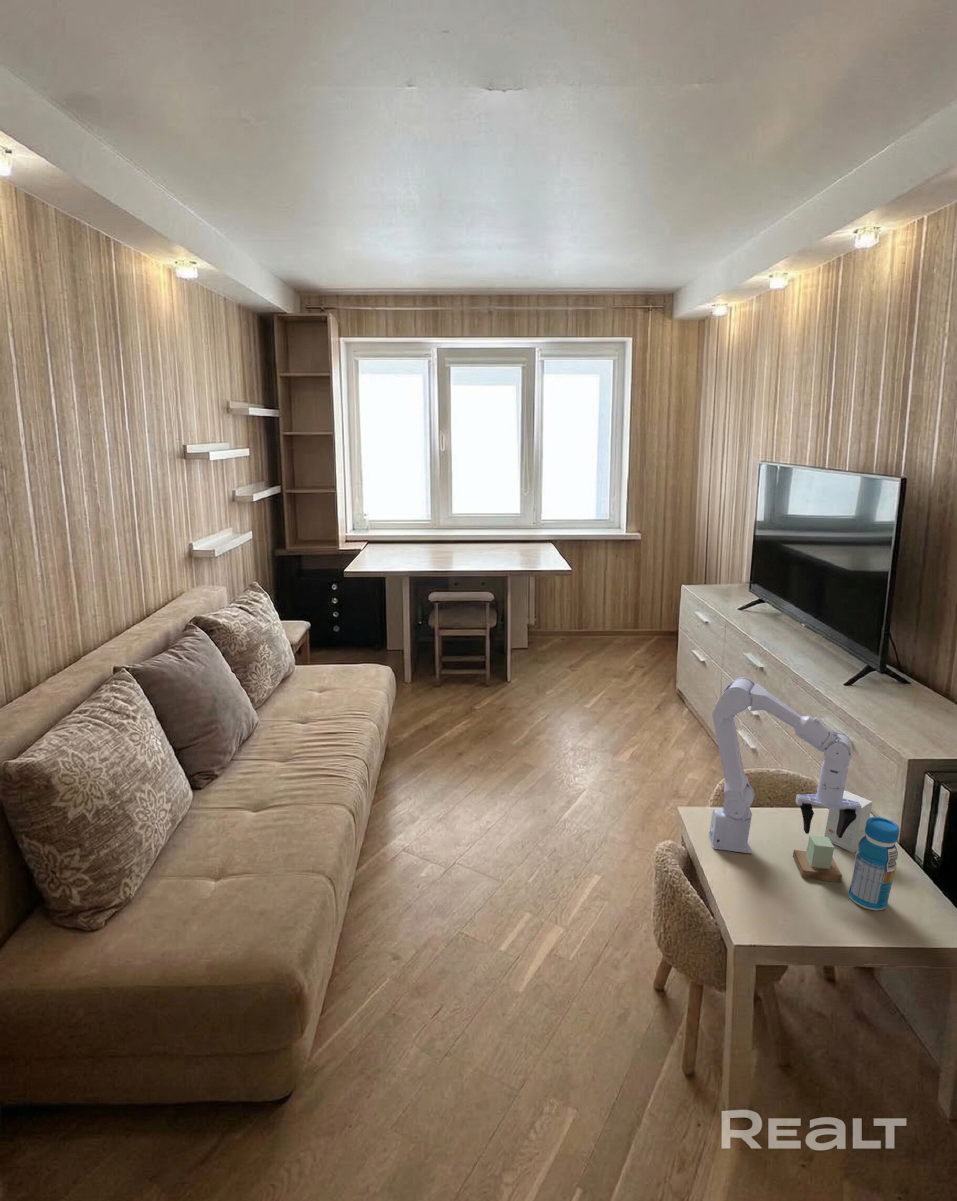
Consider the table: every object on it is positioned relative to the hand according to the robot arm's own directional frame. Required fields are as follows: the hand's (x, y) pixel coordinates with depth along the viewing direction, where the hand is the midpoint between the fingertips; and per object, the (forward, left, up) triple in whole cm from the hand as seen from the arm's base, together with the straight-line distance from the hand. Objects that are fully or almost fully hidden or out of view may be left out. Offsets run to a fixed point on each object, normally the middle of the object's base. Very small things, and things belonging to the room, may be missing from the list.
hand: (822, 833), depth 186 cm
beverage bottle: (+9, -11, -10) cm, 17 cm away
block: (0, 0, -8) cm, 8 cm away
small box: (+11, +15, -10) cm, 21 cm away
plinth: (0, 0, -10) cm, 10 cm away
